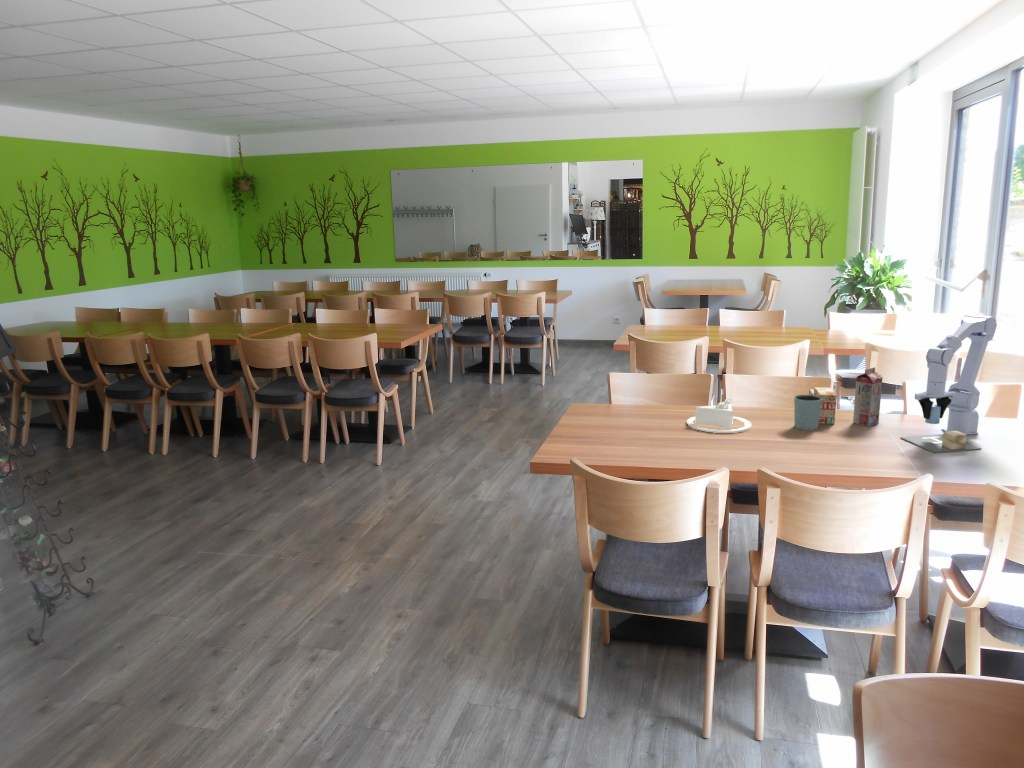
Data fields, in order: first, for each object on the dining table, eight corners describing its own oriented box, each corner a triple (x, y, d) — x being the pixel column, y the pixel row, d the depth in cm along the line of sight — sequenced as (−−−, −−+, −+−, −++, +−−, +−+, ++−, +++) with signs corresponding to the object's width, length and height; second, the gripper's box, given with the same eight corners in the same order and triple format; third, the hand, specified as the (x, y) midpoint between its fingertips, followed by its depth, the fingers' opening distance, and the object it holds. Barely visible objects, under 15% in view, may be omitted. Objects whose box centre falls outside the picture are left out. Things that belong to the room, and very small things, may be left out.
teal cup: (791, 429, 292) (793, 399, 289) (792, 422, 301) (794, 393, 298) (820, 432, 288) (822, 401, 285) (820, 425, 297) (822, 395, 294)
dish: (747, 418, 310) (748, 391, 308) (755, 435, 286) (756, 406, 284) (685, 416, 315) (686, 390, 312) (688, 433, 291) (689, 405, 288)
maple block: (954, 444, 268) (956, 430, 267) (965, 448, 263) (966, 434, 262) (941, 445, 267) (943, 431, 266) (952, 449, 262) (953, 435, 261)
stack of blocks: (807, 410, 319) (809, 382, 316) (823, 410, 318) (825, 382, 315) (817, 424, 298) (820, 394, 296) (834, 424, 297) (837, 394, 295)
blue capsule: (932, 420, 276) (934, 404, 274) (942, 423, 271) (943, 407, 270) (922, 421, 275) (923, 405, 273) (931, 424, 271) (932, 408, 269)
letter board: (944, 435, 280) (944, 433, 280) (981, 449, 263) (981, 448, 263) (900, 438, 278) (900, 437, 278) (934, 453, 260) (934, 451, 260)
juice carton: (878, 423, 297) (883, 368, 292) (868, 426, 293) (873, 370, 289) (862, 420, 302) (866, 366, 298) (852, 422, 299) (857, 368, 294)
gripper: (947, 377, 274) (943, 413, 277) (910, 379, 273) (907, 416, 276) (961, 381, 268) (957, 418, 271) (923, 384, 266) (919, 421, 269)
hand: (932, 418), depth 273 cm, fingers closed on blue capsule, 4 cm apart
